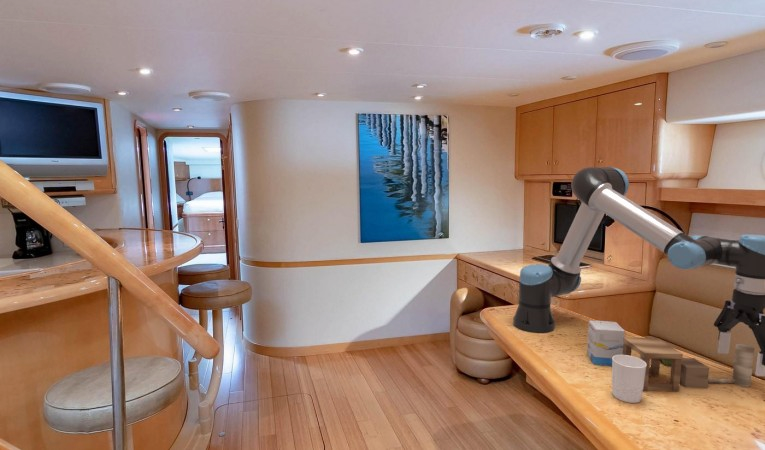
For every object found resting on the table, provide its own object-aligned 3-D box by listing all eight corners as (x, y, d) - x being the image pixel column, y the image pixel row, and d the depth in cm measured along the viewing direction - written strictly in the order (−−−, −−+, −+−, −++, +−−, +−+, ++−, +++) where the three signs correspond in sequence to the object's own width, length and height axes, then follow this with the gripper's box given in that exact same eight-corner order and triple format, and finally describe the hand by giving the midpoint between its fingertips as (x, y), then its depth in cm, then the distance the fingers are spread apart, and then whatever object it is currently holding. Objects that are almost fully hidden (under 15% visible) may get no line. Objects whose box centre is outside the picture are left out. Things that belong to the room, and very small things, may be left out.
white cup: (604, 388, 117) (606, 354, 116) (633, 389, 117) (635, 354, 116) (619, 404, 110) (621, 367, 108) (650, 404, 109) (653, 367, 108)
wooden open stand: (621, 372, 127) (623, 337, 126) (655, 373, 127) (658, 338, 125) (641, 391, 116) (644, 353, 115) (679, 392, 116) (682, 353, 114)
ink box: (623, 367, 130) (625, 330, 129) (593, 364, 132) (595, 328, 131) (614, 355, 139) (616, 321, 137) (586, 353, 140) (588, 319, 139)
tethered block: (671, 377, 124) (674, 341, 123) (739, 378, 123) (743, 342, 122) (684, 387, 118) (688, 350, 117) (757, 389, 117) (761, 351, 116)
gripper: (704, 278, 129) (696, 344, 132) (776, 305, 105) (765, 386, 108) (730, 279, 129) (721, 345, 132) (808, 306, 104) (795, 386, 107)
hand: (741, 363), depth 120 cm, fingers open, 13 cm apart
